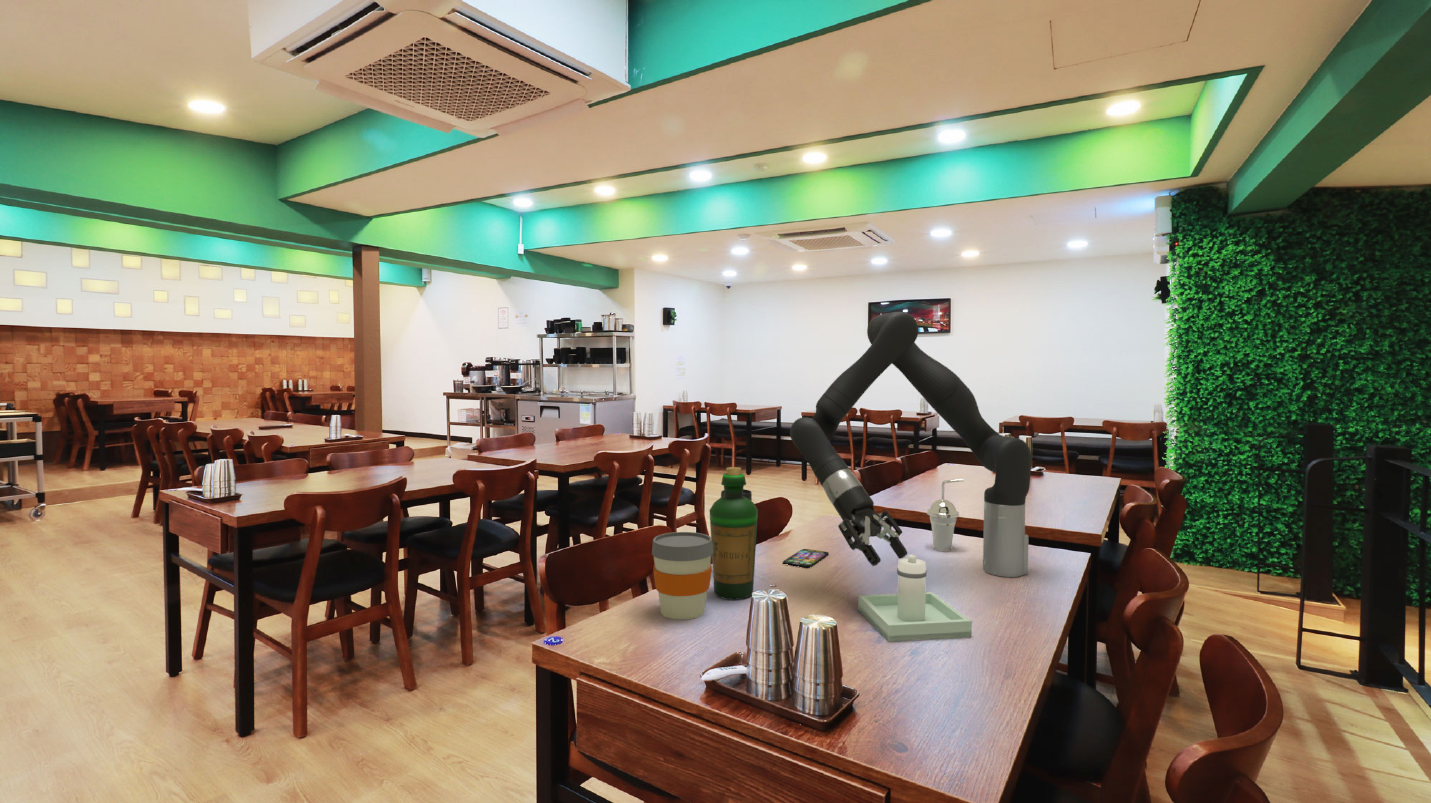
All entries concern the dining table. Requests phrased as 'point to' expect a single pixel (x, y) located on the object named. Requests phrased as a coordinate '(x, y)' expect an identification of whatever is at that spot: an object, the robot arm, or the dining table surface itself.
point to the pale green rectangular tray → (935, 626)
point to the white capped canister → (911, 589)
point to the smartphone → (806, 558)
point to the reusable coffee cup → (682, 573)
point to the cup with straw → (943, 521)
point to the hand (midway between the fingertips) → (890, 560)
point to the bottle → (733, 538)
